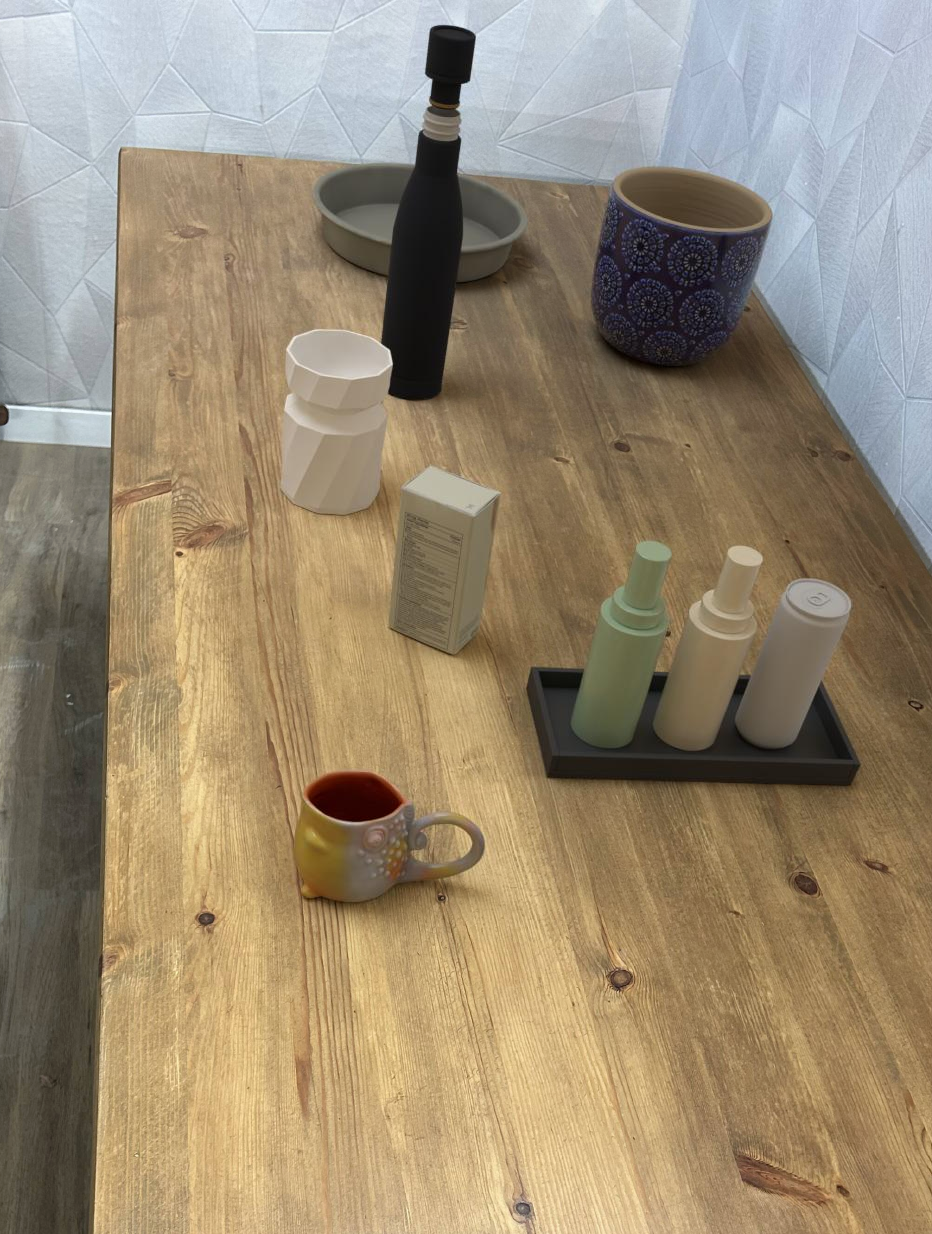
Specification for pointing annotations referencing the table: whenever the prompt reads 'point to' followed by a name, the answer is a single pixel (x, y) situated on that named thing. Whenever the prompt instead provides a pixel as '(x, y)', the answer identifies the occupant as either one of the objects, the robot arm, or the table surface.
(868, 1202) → the table surface
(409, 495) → the cosmetic box
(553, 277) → the table surface
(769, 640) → the beverage can
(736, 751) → the tray
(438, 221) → the black bottle
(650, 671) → the sage bottle
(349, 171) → the cake pan
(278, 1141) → the table surface
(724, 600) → the cream bottle
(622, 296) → the planter
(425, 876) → the mug
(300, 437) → the vase
